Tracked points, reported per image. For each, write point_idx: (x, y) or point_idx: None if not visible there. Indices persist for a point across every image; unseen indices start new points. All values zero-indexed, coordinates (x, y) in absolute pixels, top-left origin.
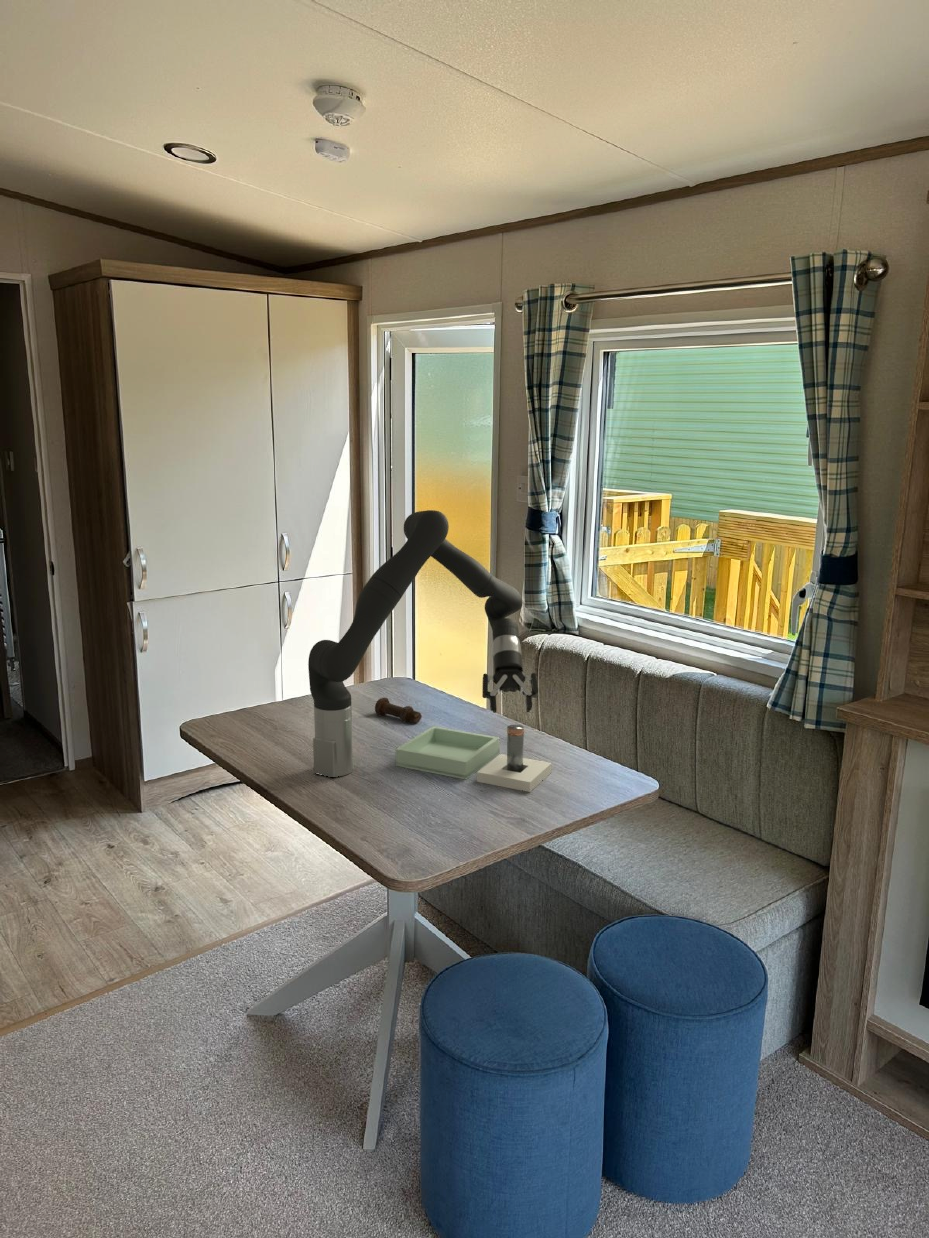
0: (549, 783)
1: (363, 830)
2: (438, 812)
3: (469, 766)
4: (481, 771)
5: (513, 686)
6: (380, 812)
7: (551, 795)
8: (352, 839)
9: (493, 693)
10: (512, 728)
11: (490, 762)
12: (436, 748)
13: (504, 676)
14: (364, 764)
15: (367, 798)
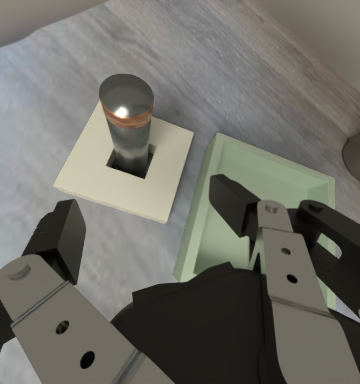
0: (69, 142)
1: (267, 31)
2: (214, 59)
3: (210, 149)
4: (187, 134)
5: (160, 297)
6: (269, 62)
7: (69, 98)
8: (268, 19)
9: (268, 210)
10: (136, 83)
11: (179, 174)
12: None
13: (328, 367)
14: (343, 185)
15: (294, 92)
